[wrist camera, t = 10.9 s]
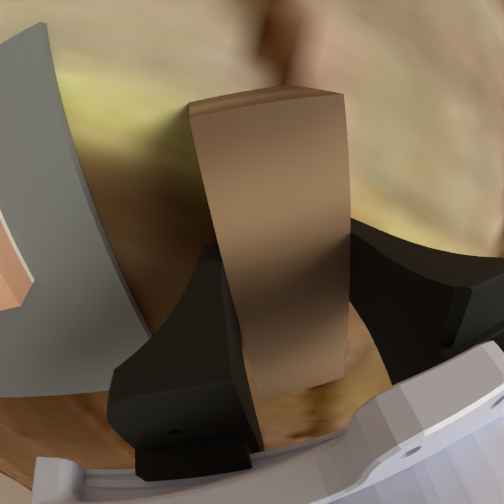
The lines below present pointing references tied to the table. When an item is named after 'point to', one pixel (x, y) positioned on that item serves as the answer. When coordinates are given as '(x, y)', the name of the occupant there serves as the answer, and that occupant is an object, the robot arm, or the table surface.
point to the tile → (12, 271)
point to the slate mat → (55, 243)
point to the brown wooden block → (281, 226)
